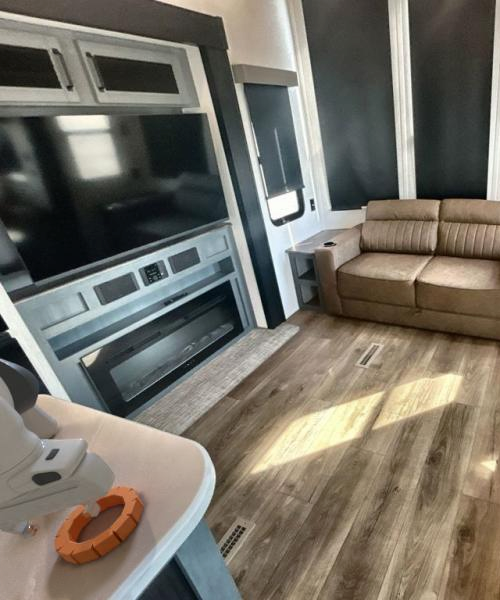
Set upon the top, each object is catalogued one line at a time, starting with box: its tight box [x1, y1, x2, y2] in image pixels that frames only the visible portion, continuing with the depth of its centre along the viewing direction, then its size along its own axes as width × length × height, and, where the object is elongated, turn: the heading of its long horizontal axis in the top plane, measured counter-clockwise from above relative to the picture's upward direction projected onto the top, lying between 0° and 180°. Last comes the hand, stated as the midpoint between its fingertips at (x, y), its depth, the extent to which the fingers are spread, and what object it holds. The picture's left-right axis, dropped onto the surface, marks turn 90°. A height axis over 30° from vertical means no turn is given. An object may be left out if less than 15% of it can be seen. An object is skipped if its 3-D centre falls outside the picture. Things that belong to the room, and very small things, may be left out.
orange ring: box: [54, 485, 144, 565], centre depth 64 cm, size 12×12×3 cm
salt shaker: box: [20, 403, 59, 440], centre depth 85 cm, size 6×6×13 cm
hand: (63, 523), depth 62 cm, fingers open, 8 cm apart
